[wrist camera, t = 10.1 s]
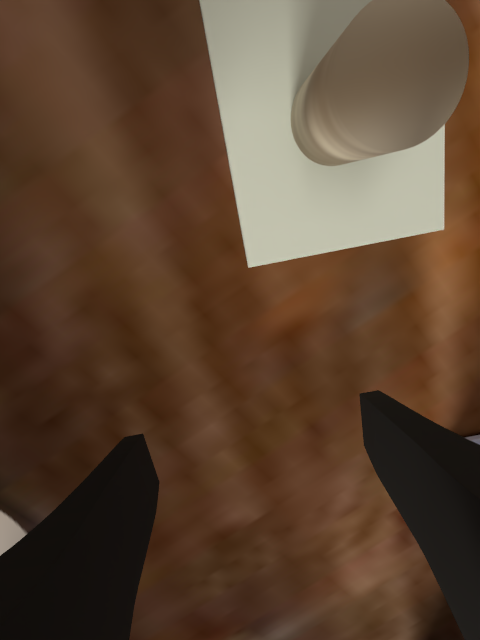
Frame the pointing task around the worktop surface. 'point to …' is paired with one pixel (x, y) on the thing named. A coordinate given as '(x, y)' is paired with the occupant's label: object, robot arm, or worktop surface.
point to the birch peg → (383, 83)
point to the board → (282, 151)
